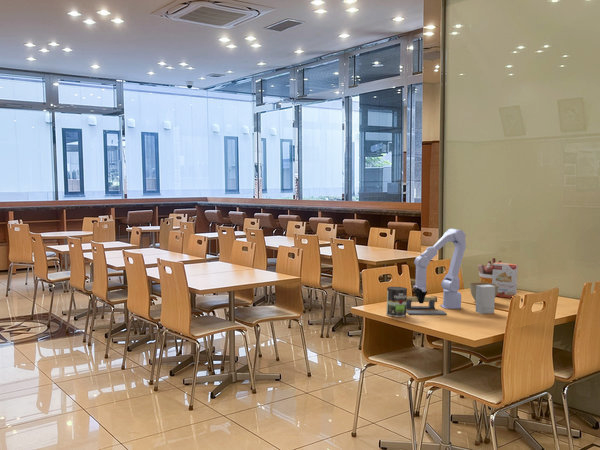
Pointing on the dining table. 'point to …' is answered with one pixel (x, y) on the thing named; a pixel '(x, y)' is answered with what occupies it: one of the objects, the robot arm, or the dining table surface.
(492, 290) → the skincare box
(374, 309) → the dining table surface
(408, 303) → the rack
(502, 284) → the cracker box
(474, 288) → the planter bowl
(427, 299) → the rail
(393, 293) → the coffee can
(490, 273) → the bucket of meat
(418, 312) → the mat
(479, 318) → the dining table surface
